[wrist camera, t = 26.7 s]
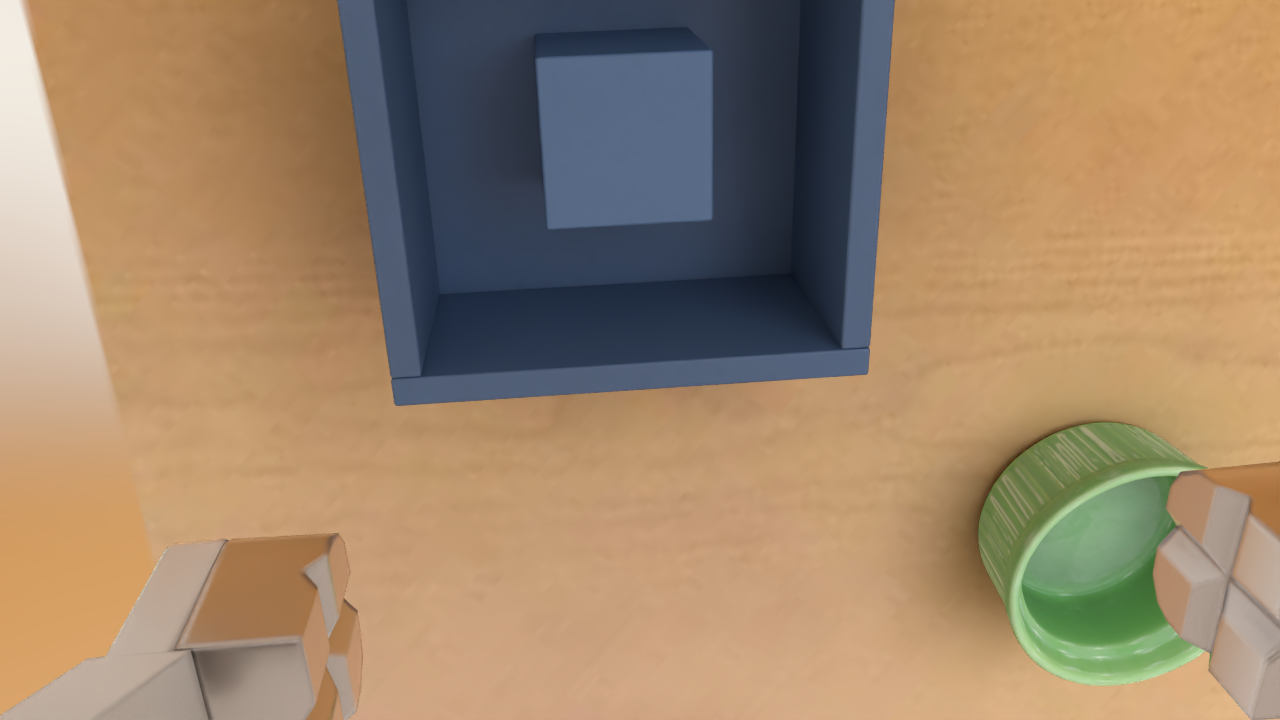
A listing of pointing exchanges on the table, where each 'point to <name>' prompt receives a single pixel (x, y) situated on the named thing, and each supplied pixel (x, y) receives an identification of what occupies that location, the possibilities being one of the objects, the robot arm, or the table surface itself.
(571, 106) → the blue block
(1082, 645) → the ramekin
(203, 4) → the table surface
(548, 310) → the blue bin
